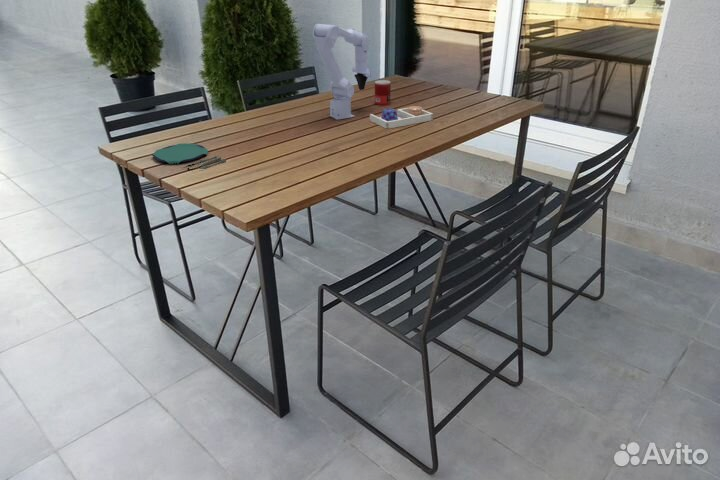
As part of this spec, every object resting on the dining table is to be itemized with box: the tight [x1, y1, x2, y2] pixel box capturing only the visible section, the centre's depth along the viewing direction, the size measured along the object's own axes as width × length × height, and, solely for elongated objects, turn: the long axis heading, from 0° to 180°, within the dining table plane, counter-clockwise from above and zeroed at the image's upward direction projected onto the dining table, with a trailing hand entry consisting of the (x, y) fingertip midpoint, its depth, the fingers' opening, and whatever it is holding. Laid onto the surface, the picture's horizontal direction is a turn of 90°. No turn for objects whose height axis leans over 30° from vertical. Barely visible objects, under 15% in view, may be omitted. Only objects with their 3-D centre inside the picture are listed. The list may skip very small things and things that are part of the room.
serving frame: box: [369, 107, 434, 130], centre depth 252 cm, size 25×15×3 cm, turn 119°
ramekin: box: [407, 105, 423, 116], centre depth 254 cm, size 7×7×5 cm
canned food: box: [374, 79, 391, 106], centre depth 277 cm, size 8×8×11 cm
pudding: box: [378, 108, 403, 121], centre depth 252 cm, size 12×12×5 cm
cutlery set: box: [152, 142, 227, 170], centre depth 212 cm, size 20×30×2 cm, turn 47°
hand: (361, 89), depth 265 cm, fingers closed
